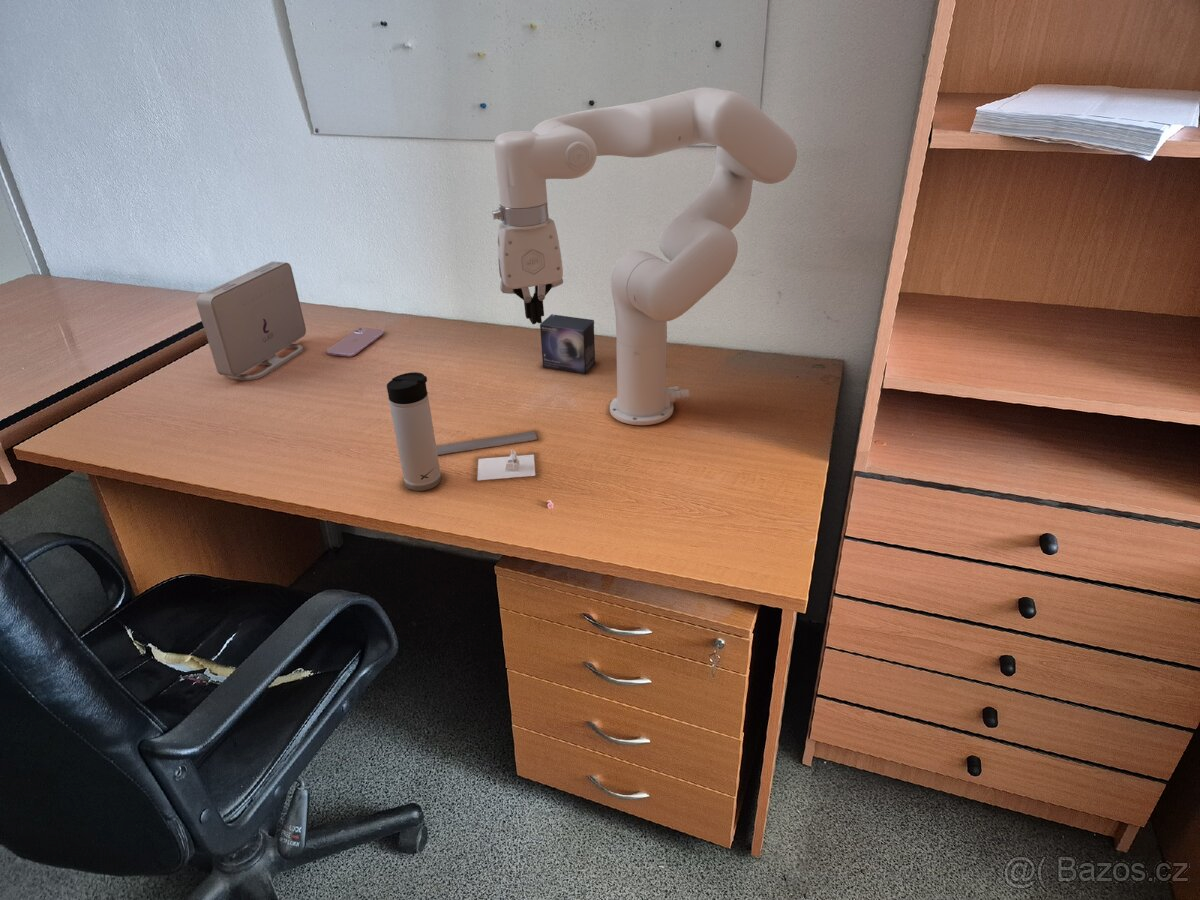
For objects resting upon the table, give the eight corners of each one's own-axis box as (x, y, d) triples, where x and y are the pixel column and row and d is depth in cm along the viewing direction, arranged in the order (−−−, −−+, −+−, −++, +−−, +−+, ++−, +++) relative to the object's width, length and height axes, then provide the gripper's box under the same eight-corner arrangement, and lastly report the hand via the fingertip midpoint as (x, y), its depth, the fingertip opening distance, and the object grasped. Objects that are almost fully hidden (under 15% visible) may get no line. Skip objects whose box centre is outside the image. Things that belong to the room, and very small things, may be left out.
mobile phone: (323, 350, 182) (358, 326, 194) (324, 354, 182) (359, 330, 194) (351, 353, 180) (385, 329, 192) (352, 357, 180) (386, 333, 192)
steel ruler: (534, 432, 149) (534, 431, 148) (537, 440, 146) (537, 438, 146) (428, 448, 144) (427, 447, 144) (429, 457, 142) (429, 455, 142)
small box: (541, 368, 173) (537, 323, 167) (553, 356, 178) (550, 313, 173) (585, 375, 169) (583, 329, 164) (596, 363, 174) (595, 318, 169)
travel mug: (435, 493, 132) (417, 387, 121) (398, 489, 133) (378, 384, 123) (448, 473, 137) (432, 370, 127) (413, 470, 138) (394, 367, 128)
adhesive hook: (520, 471, 137) (518, 455, 135) (505, 472, 137) (503, 457, 135) (519, 462, 140) (518, 447, 138) (505, 463, 139) (503, 448, 138)
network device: (244, 388, 168) (218, 299, 158) (211, 383, 171) (183, 296, 160) (316, 342, 189) (298, 261, 179) (286, 338, 191) (266, 258, 181)
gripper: (483, 226, 121) (497, 336, 130) (576, 214, 124) (582, 321, 134) (475, 214, 127) (488, 320, 137) (563, 203, 130) (570, 307, 140)
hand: (535, 320), depth 135 cm, fingers closed
